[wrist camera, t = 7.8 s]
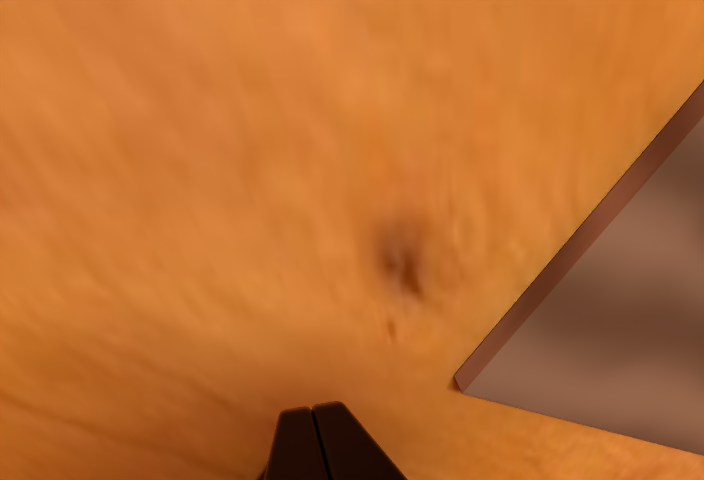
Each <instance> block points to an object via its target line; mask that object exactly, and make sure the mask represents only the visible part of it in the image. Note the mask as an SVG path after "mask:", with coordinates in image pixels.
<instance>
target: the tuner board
mask: <svg viewBox="0 0 704 480" xmlns="http://www.w3.org/2000/svg"><path fill="white" fill-rule="evenodd" d="M454 377H455V379H456V381H457V384H458V386H459V388H460V390H461V392H462V394H466V395H470V396H474V397H478V398H481V399H485V400H489V401H493V402H497V403H501V404H505V405H509V406H513V407H517V408H520V409H524V410H528V411H532V412H536V413H540V414H544V415H548V416H552V417H556V418H559V419H563V420H567V421H571V422H575V423H579V424H583V425H587V426H591V427H595V428H598V429H602V430H606V431H610V432H614V433H618V434H622V435H626V436H630V437H633V438H637V439H641V440H645V441H649V442H653V443H657V444H661V445H665V446H669V447H672V448H676V449H680V450H684V451H688V452H692V453H696V454H700V455H704V81H703V83H702V84H701V85H700V86H699V87H698V89H697V90H696V91H695V92H694V93H693V94H692V96H691V97H690V98H689V99H688V100H687V102H686V103H685V104H684V105H683V106H682V107H681V109H680V110H679V111H678V112H677V113H676V114H675V116H674V117H673V118H672V119H671V120H670V122H669V123H668V124H667V125H666V126H665V127H664V129H663V130H662V131H661V132H660V133H659V135H658V136H657V137H656V138H655V139H654V140H653V142H652V143H651V144H650V145H649V146H648V147H647V149H646V150H645V151H644V152H643V153H642V155H641V156H640V157H639V158H638V159H637V160H636V162H635V163H634V164H633V165H632V166H631V168H630V169H629V170H628V171H627V172H626V173H625V175H624V176H623V177H622V178H621V179H620V180H619V182H618V183H617V184H616V185H615V186H614V188H613V189H612V190H611V191H610V192H609V193H608V195H607V196H606V197H605V198H604V199H603V201H602V202H601V203H600V204H599V205H598V206H597V208H596V209H595V210H594V211H593V212H592V214H591V215H590V216H589V217H588V218H587V219H586V221H585V222H584V223H583V224H582V225H581V226H580V228H579V229H578V230H577V231H576V232H575V234H574V235H573V236H572V237H571V238H570V239H569V241H568V242H567V243H566V244H565V245H564V247H563V248H562V249H561V250H560V251H559V252H558V254H557V255H556V256H555V257H554V258H553V259H552V261H551V262H550V263H549V264H548V265H547V267H546V268H545V269H544V270H543V271H542V272H541V274H540V275H539V276H538V277H537V278H536V280H535V281H534V282H533V283H532V284H531V285H530V287H529V288H528V289H527V290H526V291H525V292H524V294H523V295H522V296H521V297H520V298H519V300H518V301H517V302H516V303H515V304H514V305H513V307H512V308H511V309H510V310H509V311H508V313H507V314H506V315H505V316H504V317H503V318H502V320H501V321H500V322H499V323H498V324H497V325H496V327H495V328H494V329H493V330H492V331H491V333H490V334H489V335H488V336H487V337H486V338H485V340H484V341H483V342H482V343H481V344H480V346H479V347H478V348H477V349H476V350H475V351H474V353H473V354H472V355H471V356H470V357H469V358H468V360H467V361H466V362H465V363H464V364H463V366H462V367H461V368H460V369H459V370H458V371H457V373H456V374H455V375H454Z"/></svg>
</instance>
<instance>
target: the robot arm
mask: <svg viewBox="0 0 704 480" xmlns="http://www.w3.org/2000/svg"><path fill="white" fill-rule="evenodd" d="M259 480H407V478H406V477H405V476H404V475H403V474H402V472H401V471H400V470H399V469H398V468H397V467H396V465H395V464H394V463H393V462H392V461H391V459H390V458H389V457H388V456H387V455H386V453H385V452H384V451H383V450H382V449H381V447H380V446H379V445H378V444H377V443H376V441H375V440H374V439H373V438H372V437H371V435H370V434H369V433H368V432H367V431H366V430H365V428H364V427H363V426H362V425H361V424H360V422H359V421H358V420H357V419H356V418H355V416H354V415H353V414H352V413H351V412H350V410H349V409H348V408H347V407H346V406H345V405H344V404H343V403H342V402H339V401H334V402H328V403H322V404H316V405H314V406H313V407H312V409H310V408H309V407H305V406H304V407H298V408H292V409H286V410H283V411H282V412H281V413H280V414H279V417H278V421H277V425H276V430H275V434H274V438H273V443H272V447H271V451H270V455H269V460H268V464H267V468H266V471H265V472H264V473H263V475H262V476H261V477H260V479H259Z"/></svg>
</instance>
